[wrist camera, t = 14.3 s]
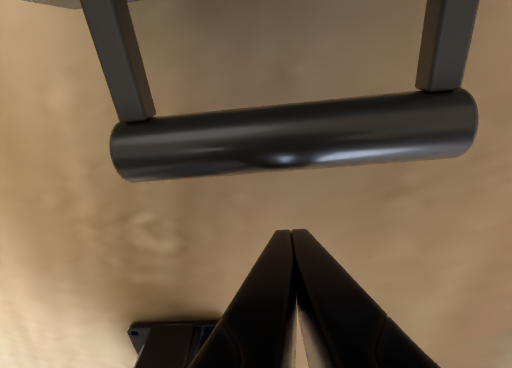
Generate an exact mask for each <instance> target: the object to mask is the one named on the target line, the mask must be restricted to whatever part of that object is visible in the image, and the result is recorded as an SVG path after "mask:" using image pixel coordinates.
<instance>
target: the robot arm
mask: <svg viewBox="0 0 512 368" xmlns="http://www.w3.org/2000/svg"><path fill="white" fill-rule="evenodd" d="M296 303H297V306H296ZM297 311H298V317H299V322H300V327H301V332H302V336H303V341H304V346H305V351H306V355H307V360H308V365H309V368H440V367H439V366H438V365H437V364H436V363H435V362H434V361H433V360H432V359H431V358H430V357H428V356H427V355H426V354H425V353H424V352H423V351H422V350H421V349H420V348H419V347H418V346H417V345H416V344H415V343H414V342H413V341H412V340H411V339H410V338H409V337H408V336H407V335H406V334H405V333H404V332H403V331H402V330H401V328H400V327H399V326H398V325H397V324H396V323H395V322H394V321H393V320H392V319H391V318H390V317H387V314H386V313H385V312H384V311H383V310H382V309H381V307H380V306H379V305H378V304H377V303H376V302H375V301H374V300H373V299H372V298H371V297H370V296H369V295H368V294H367V293H366V292H365V291H364V290H363V288H362V287H361V286H360V285H359V284H358V283H357V282H356V281H355V280H354V279H353V278H352V277H351V276H350V275H349V274H348V273H347V272H346V271H345V269H344V268H343V267H342V266H341V265H340V264H339V263H338V262H337V261H336V260H335V259H334V258H333V257H332V256H331V255H330V254H329V253H328V251H327V250H326V249H325V248H324V247H323V246H322V245H321V244H320V243H319V242H318V241H317V240H316V239H315V238H314V237H313V236H312V235H311V234H310V232H309V231H308V230H306V229H293V230H292V231H290V230H277V231H275V233H274V234H273V236H272V238H271V239H270V241H269V242H268V244H267V246H266V247H265V249H264V250H263V252H262V253H261V255H260V257H259V258H258V260H257V261H256V263H255V265H254V266H253V268H252V269H251V271H250V273H249V274H248V276H247V277H246V279H245V281H244V282H243V284H242V285H241V287H240V289H239V290H238V292H237V293H236V295H235V296H234V298H233V300H232V301H231V303H230V304H229V306H228V308H227V309H226V311H225V312H224V314H223V316H222V317H221V319H220V320H208V321H175V322H142V323H132V324H131V325H130V327H129V329H128V331H127V332H128V335H129V337H130V339H131V341H132V344H133V346H134V348H135V350H136V352H137V354H138V358H137V361H136V363H135V366H134V368H295V354H296V327H297Z"/></svg>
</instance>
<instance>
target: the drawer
mask: <svg viewBox="0 0 512 368" xmlns="http://www.w3.org/2000/svg"><path fill="white" fill-rule="evenodd" d="M24 1H29V2H35V3H41V4H46V5H52V6H58V7H63V8H69V9H81V8H82V9H83V12H84V15H85V18H86V21H87V24H88V27H89V30H90V33H91V36H92V39H93V42H94V45H95V48H96V51H97V54H98V57H99V60H100V63H101V66H102V69H103V73H104V76H105V79H106V82H107V85H108V88H109V91H110V94H111V97H112V100H113V103H114V106H115V109H116V112H117V115H118V118H119V121H120V122H118V123H117V124H116V125H115V126H114V127H113V129H112V132H111V136H110V154H111V159H112V162H113V165H114V167H115V169H116V171H117V173H118V174H119V175H120V177H121V178H122V179H124V180H125V181H127V182H131V183H138V182H151V181H164V180H177V179H189V178H202V177H215V176H228V175H241V174H253V173H266V172H279V171H292V170H305V169H317V168H330V167H343V166H356V165H369V164H381V163H394V162H407V161H420V160H433V159H445V158H455V157H458V156H460V155H462V154H464V153H465V152H466V151H467V150H468V149H469V148H470V147H471V145H472V143H473V141H474V139H475V136H476V133H477V128H478V110H477V106H476V103H475V100H474V98H473V97H472V95H471V94H470V93H469V92H468V91H467V90H465V89H462V88H460V87H461V85H462V80H463V75H464V70H465V66H466V61H467V56H468V52H469V47H470V42H471V37H472V33H473V28H474V23H475V18H476V14H477V9H478V4H479V0H427V4H426V11H425V18H424V25H423V32H422V40H421V47H420V54H419V61H418V68H417V75H416V82H415V87H416V88H417V89H420V90H421V91H411V92H401V93H391V94H381V95H371V96H361V97H351V98H341V99H331V100H321V101H311V102H301V103H291V104H281V105H271V106H261V107H251V108H241V109H231V110H221V111H211V112H201V113H191V114H181V115H171V116H161V117H152V116H154V115H156V111H155V107H154V103H153V99H152V96H151V92H150V88H149V84H148V80H147V77H146V73H145V69H144V65H143V62H142V58H141V54H140V50H139V47H138V43H137V39H136V35H135V32H134V28H133V24H132V20H131V16H130V13H129V9H128V5H127V2H131V1H138V0H24Z"/></svg>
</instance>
